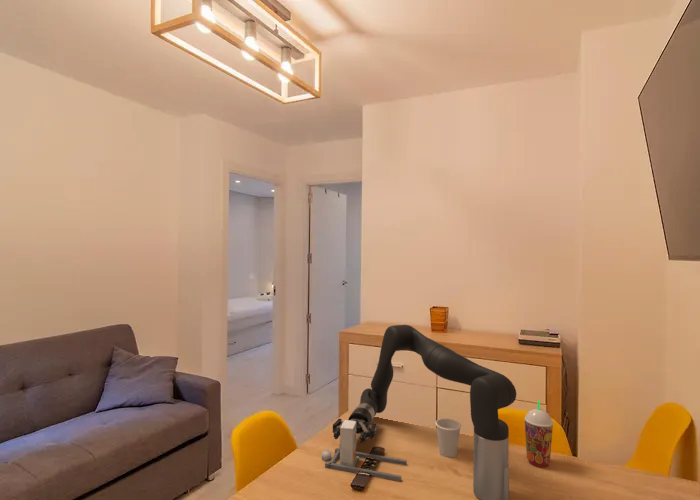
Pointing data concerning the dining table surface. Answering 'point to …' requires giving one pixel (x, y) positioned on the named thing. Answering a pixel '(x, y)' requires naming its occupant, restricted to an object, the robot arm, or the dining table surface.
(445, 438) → the dixie cup
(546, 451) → the smoothie
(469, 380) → the robot arm
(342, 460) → the skincare box
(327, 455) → the guide channel
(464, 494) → the dining table surface
